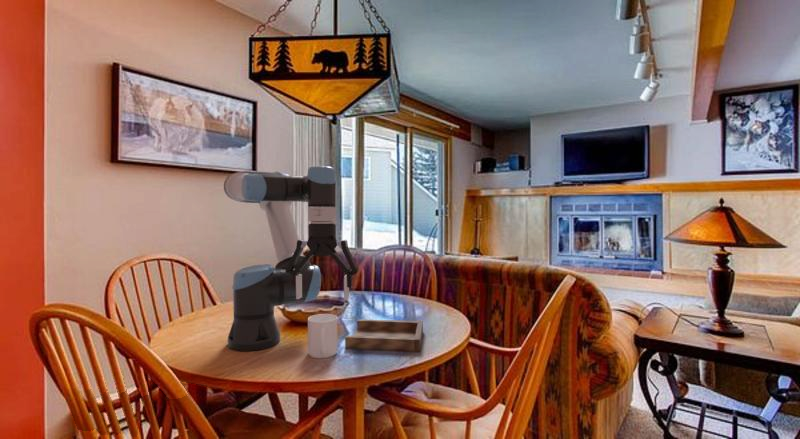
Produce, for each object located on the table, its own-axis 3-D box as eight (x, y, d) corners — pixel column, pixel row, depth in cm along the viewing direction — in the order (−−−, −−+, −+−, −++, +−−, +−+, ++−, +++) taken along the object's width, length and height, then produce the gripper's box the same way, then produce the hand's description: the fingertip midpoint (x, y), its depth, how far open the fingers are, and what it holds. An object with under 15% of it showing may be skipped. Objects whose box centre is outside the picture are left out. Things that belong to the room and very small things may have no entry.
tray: (345, 348, 118) (345, 337, 118) (358, 329, 136) (358, 319, 136) (419, 351, 116) (419, 339, 115) (422, 331, 134) (422, 321, 133)
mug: (338, 363, 107) (337, 325, 107) (306, 365, 106) (306, 326, 105) (337, 347, 119) (337, 313, 119) (308, 349, 118) (308, 314, 117)
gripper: (273, 223, 108) (274, 300, 109) (363, 223, 106) (364, 302, 107) (284, 221, 116) (284, 294, 117) (368, 222, 113) (369, 296, 114)
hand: (322, 298), depth 112 cm, fingers open, 13 cm apart
